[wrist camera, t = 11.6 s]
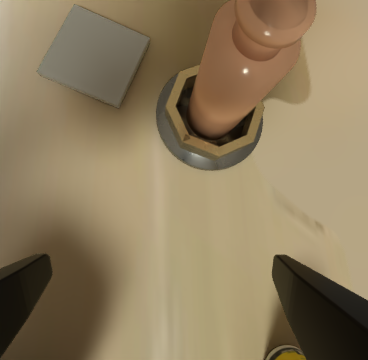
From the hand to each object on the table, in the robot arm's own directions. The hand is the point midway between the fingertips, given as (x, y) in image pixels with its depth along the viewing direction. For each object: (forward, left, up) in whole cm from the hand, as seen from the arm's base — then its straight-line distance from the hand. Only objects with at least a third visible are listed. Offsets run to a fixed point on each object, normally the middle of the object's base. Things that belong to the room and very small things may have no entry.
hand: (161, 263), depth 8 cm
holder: (+9, +8, -11) cm, 17 cm away
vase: (+9, +8, -11) cm, 16 cm away
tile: (+1, +18, -11) cm, 21 cm away
